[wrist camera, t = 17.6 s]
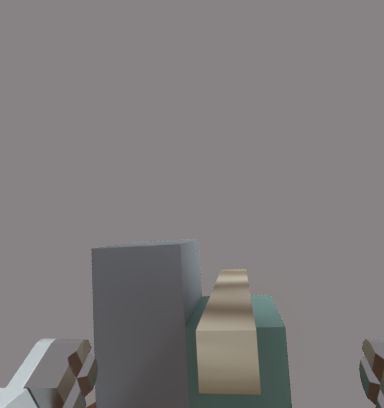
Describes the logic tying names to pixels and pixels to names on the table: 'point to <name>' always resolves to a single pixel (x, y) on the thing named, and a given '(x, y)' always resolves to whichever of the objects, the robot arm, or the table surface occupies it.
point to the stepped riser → (169, 331)
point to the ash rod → (228, 339)
